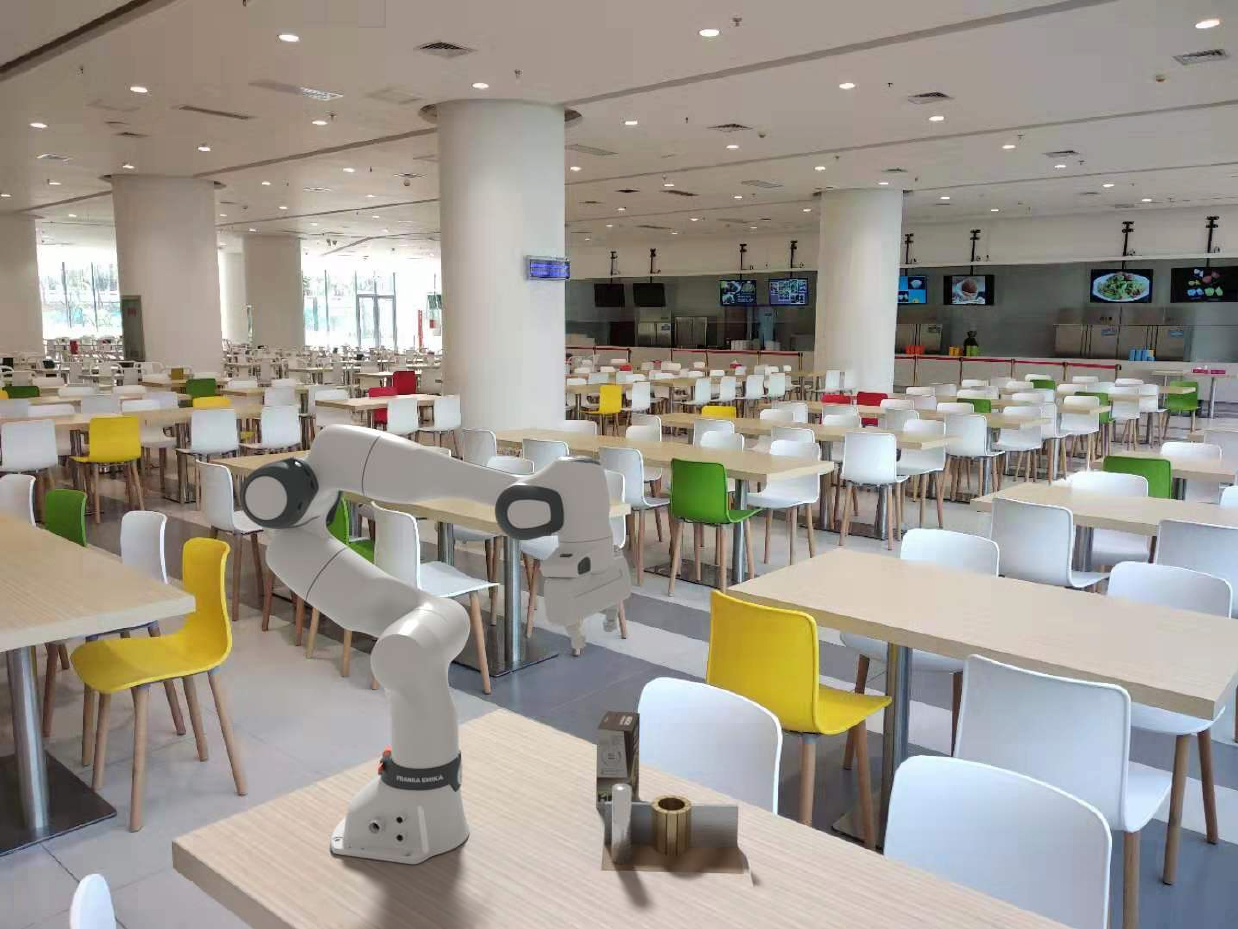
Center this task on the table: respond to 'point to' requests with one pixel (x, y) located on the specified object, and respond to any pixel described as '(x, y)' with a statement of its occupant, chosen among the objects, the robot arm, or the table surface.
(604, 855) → the walnut base
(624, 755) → the coffee box
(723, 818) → the hinge
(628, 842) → the hinge pin
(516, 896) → the table surface
